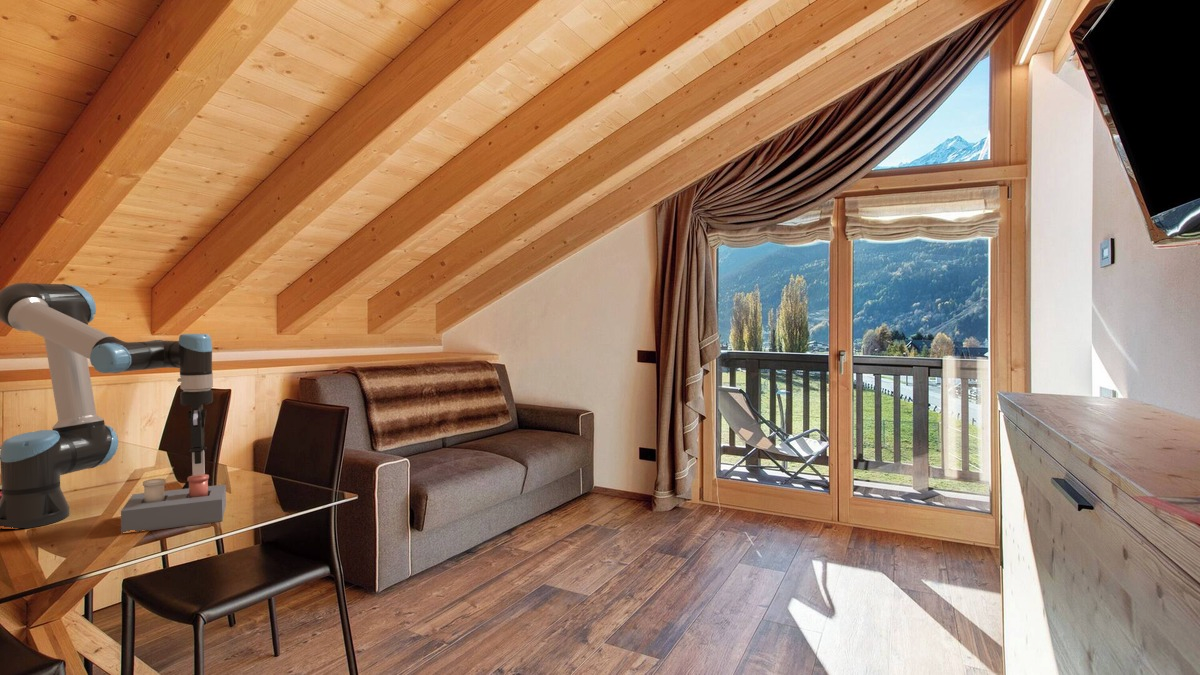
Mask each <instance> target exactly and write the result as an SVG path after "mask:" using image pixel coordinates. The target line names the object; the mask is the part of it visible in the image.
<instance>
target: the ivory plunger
mask: <svg viewBox="0 0 1200 675" xmlns="http://www.w3.org/2000/svg"><path fill="white" fill-rule="evenodd" d="M166 482H167V481H166V479H165V478H152V479H151V478H150V479H146V480H143V482H142V486H143V493H144V498H145V503H149V502H158V501H165V492H164V491H165V484H166Z"/></svg>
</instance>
